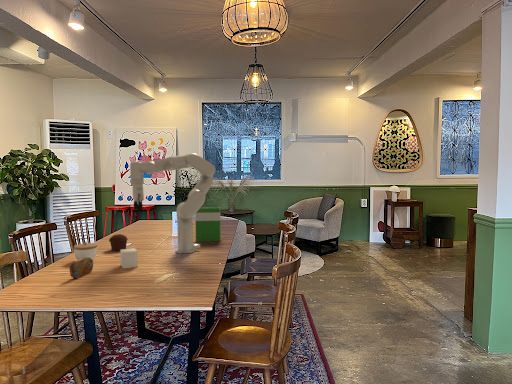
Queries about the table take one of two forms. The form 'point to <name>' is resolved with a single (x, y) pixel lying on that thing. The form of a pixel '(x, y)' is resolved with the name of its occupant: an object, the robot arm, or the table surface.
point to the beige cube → (128, 258)
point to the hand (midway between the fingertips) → (138, 210)
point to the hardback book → (208, 224)
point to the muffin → (118, 242)
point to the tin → (81, 267)
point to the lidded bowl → (85, 250)
